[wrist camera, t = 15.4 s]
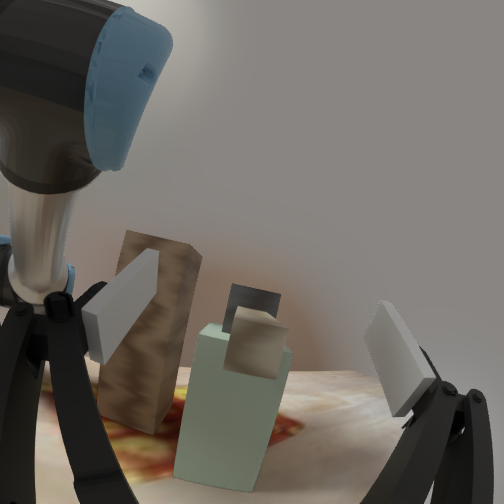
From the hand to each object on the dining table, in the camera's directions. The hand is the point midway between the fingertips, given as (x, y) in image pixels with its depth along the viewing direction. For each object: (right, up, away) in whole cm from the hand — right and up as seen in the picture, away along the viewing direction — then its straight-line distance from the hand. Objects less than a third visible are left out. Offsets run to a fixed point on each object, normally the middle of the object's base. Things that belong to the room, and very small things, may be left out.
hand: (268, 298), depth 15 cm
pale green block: (-6, -27, +15) cm, 32 cm away
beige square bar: (-1, -7, +12) cm, 14 cm away
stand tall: (-21, -25, +24) cm, 41 cm away
